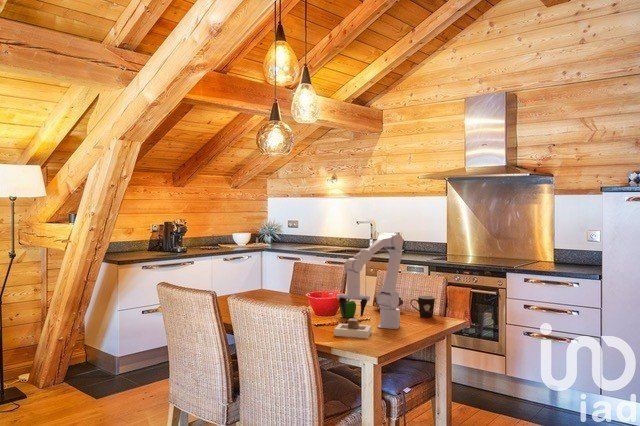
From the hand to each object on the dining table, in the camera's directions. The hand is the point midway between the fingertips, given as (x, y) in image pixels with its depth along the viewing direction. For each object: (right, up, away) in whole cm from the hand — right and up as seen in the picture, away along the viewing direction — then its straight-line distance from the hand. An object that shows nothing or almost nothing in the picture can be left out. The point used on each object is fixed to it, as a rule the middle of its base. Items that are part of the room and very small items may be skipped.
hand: (353, 315), depth 235 cm
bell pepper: (-1, -7, +32) cm, 32 cm away
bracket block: (0, -8, +1) cm, 8 cm away
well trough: (0, -8, 0) cm, 8 cm away
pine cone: (+21, -7, +48) cm, 53 cm away
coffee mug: (+38, -7, +34) cm, 52 cm away
